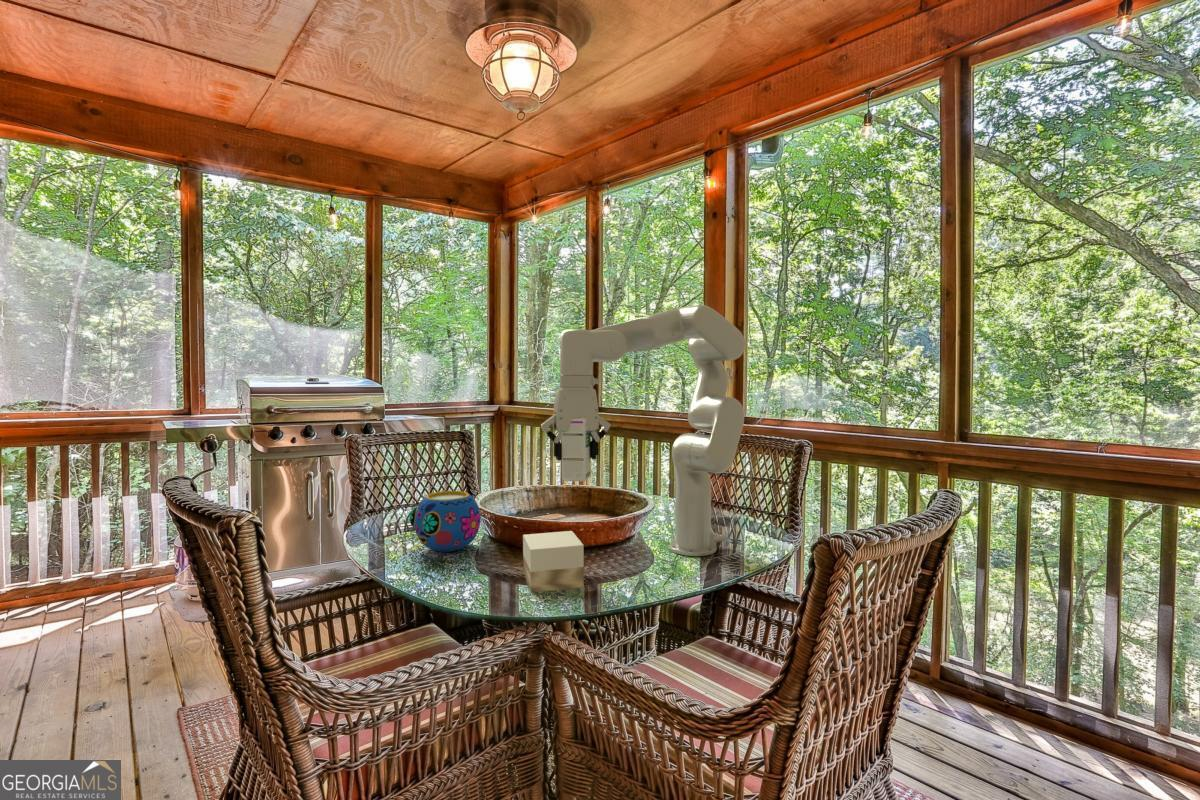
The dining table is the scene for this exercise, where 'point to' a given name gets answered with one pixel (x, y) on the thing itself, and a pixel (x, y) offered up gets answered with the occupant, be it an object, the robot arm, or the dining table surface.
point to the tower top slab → (553, 551)
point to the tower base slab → (554, 578)
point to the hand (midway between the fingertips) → (575, 458)
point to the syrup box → (576, 451)
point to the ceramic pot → (446, 520)
